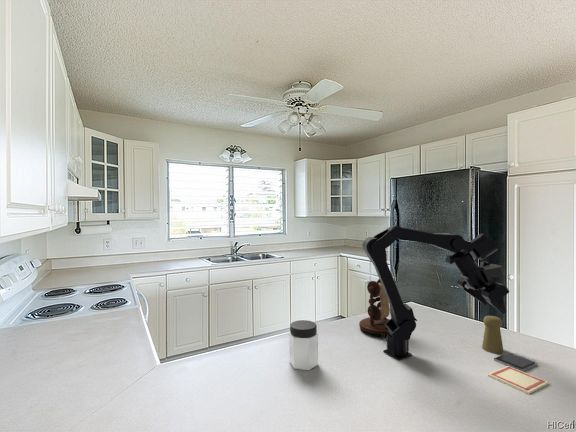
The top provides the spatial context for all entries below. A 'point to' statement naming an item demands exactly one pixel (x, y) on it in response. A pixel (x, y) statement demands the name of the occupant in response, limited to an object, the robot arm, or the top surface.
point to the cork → (492, 335)
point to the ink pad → (515, 361)
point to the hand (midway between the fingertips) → (495, 308)
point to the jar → (303, 345)
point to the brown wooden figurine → (376, 310)
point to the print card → (518, 379)
